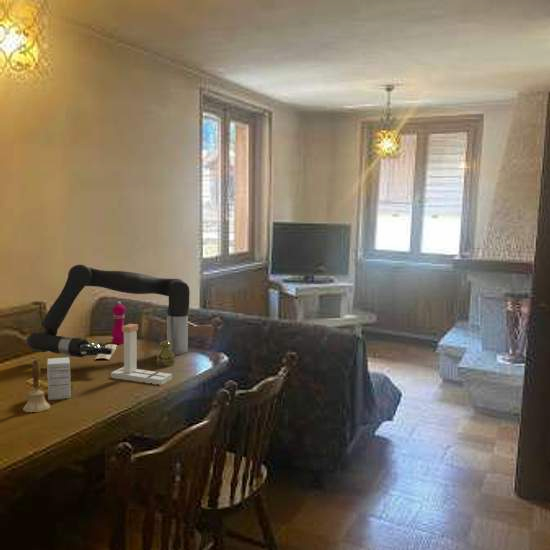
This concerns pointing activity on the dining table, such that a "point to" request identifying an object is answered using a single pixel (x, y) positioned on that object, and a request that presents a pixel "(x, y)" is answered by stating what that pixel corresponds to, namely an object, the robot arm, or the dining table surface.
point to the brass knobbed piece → (166, 355)
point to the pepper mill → (118, 324)
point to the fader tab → (130, 347)
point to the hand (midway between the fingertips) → (110, 351)
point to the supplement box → (58, 378)
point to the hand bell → (36, 393)
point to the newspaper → (106, 354)
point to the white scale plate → (142, 376)
